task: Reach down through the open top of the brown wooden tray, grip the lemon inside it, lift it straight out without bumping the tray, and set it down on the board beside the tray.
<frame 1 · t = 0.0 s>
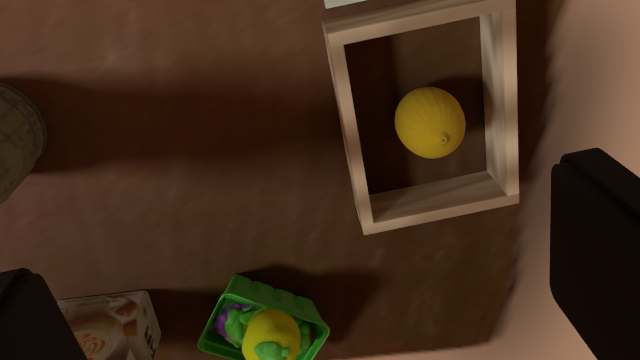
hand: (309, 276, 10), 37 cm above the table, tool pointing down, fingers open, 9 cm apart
lemon: (416, 105, 48), resting in brown wooden tray
brown wooden tray: (417, 105, 48), on the table
coffee box: (111, 315, 56), on the table
fruit basket: (266, 298, 57), on the table
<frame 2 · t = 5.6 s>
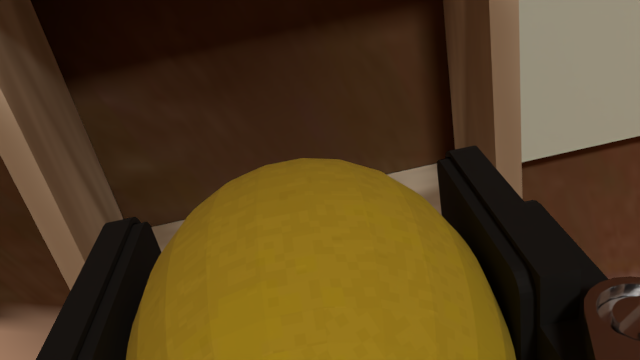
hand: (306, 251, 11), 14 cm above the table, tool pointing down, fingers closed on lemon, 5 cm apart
lemon: (302, 211, 12), point 12 cm above the table, touching gripper
brown wooden tray: (263, 75, 23), on the table
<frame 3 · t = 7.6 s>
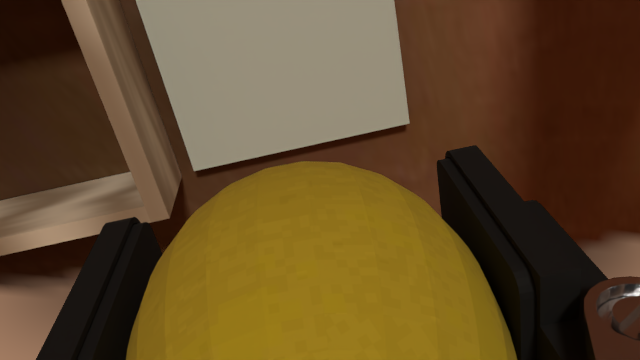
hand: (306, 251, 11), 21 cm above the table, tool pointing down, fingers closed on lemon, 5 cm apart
lemon: (302, 213, 12), point 20 cm above the table, touching gripper
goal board: (276, 35, 29), on the table
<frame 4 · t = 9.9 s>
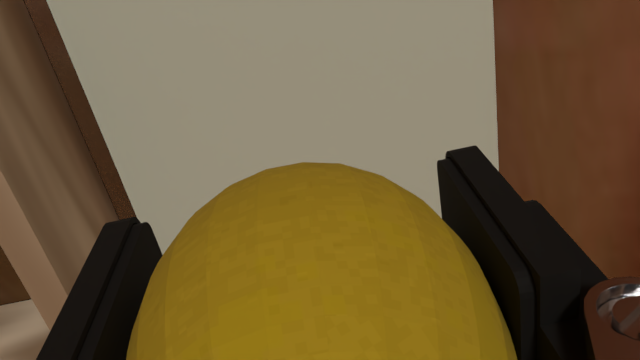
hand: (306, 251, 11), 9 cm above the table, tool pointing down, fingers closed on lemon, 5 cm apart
lemon: (302, 214, 12), point 7 cm above the table, touching gripper
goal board: (298, 96, 18), on the table
when the fingers open (3 cm above the table, at t = 11.5 s): lemon drops 1 cm, resting on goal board.
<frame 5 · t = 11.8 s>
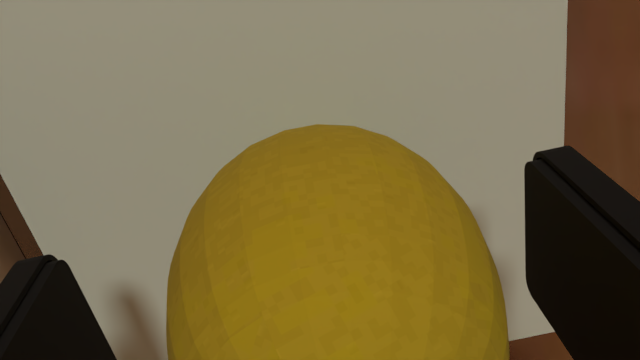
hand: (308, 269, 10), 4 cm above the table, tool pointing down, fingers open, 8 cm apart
lemon: (313, 179, 13), point 1 cm above the table, touching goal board
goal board: (297, 172, 14), on the table
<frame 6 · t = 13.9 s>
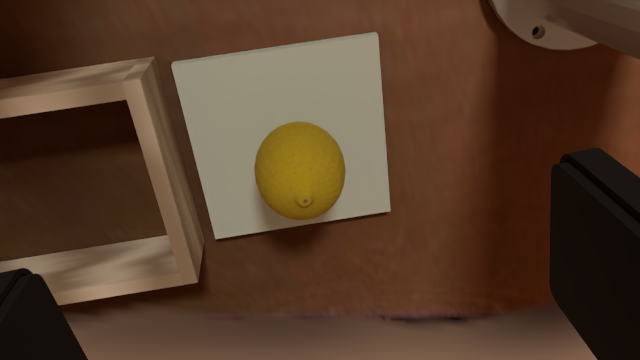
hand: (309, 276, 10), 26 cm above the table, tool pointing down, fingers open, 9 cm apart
lemon: (295, 142, 37), point 1 cm above the table, touching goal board
brown wooden tray: (49, 177, 37), on the table
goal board: (289, 140, 37), on the table
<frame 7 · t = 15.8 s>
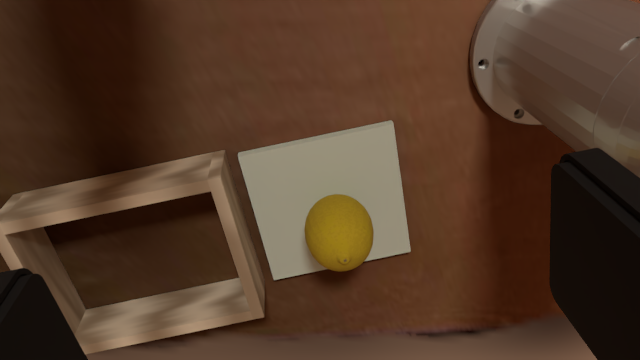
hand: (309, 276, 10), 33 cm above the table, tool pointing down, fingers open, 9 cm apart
lemon: (333, 204, 47), point 1 cm above the table, touching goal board
brown wooden tray: (147, 240, 48), on the table
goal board: (328, 202, 48), on the table
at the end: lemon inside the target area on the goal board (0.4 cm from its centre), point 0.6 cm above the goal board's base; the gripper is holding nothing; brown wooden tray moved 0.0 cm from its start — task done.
